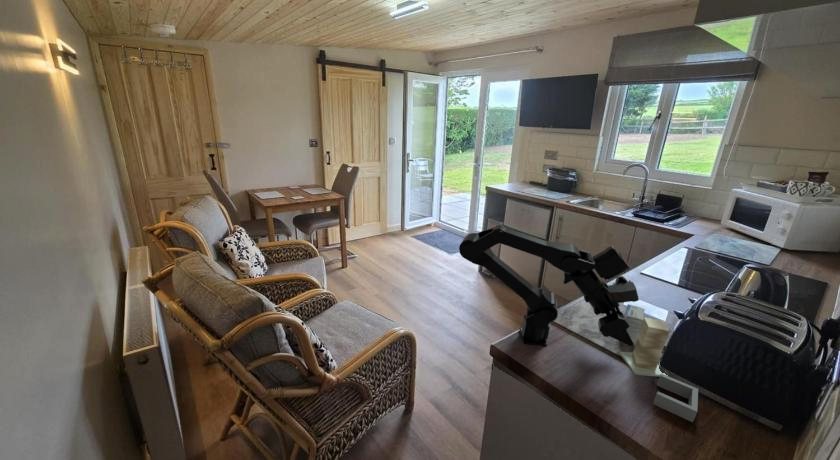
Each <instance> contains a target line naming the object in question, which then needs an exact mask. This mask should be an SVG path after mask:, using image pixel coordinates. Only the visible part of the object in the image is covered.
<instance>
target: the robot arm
mask: <svg viewBox="0 0 840 460" xmlns="http://www.w3.org/2000/svg"><path fill="white" fill-rule="evenodd" d="M499 244H501V245H503V246H507V247H509V248H513V249H515V250H519V251H521V252H523V253H524V252H525V253H527V254H529V255H532V256H535V257H539V258H541V259H543V260H545V261H546V262H548V264H550V265H551V266H553V267H555V268H557V269H558V270H560V271H562V272H563V276H562V281H563V284H564V285H566V284H569V283H570V282H573V284H574V285H575V287H576V288H577V290H578V291H579V292H580V293H581V294H582V296H583V301H585V303H589V304H590V306H591V307H592V310H593V312H594V315H596V316H599V315H600V314H601V315H604V314H605V316H602V317H600V318H598V320H597V321H598V322H597V325H598V330H599V332H600V333H601V334H602V336H603V337H605V338H608V337H609V338H613V339H614V340H617V341H618V342H620V343H623V344H625V345H626V346H629V347H632V346H634V344H633V341H632V339H631V337H630V335H629V333H628V331H627V329H628V328H629V323H628V320H627V319H626V317H625V313H623V311H621V309H620V304H621V303H628V302H629V303H630V302H633V303H635V302H639V300H640V299H639V294H638V290H637V287H636V285H635V283H634V282H633V281H631V280H628V279H627V278H626V277H625V276H623V275H622V276H621V274H623V273H625V272H627V271H629V270H631V266H630V265H629V264H628V262H627V260H626V259H625V258H624V256H623V254H622V253H620V252H619V251H618V249H616V248H615V247H614V245H610V246H608V247H606V248H605V249H604V250H602V251H601V252H599V253H597V254H595V255H593V254H592V252H589V251H585V250H582V249H579V248H578V247H577V246H576V245H575V244H572V243H567V242H560V241H547V240H545V239H544V240H543V239H540V238H538V237H535V236H532V235H529V234H526V233H523V232H519V231H517V230H514V229H512V228H509V227H508V228H507V227H505V226H504V225H501V224H498V225H496V226H493V227H491V228H488V229H485V230H481V231H479V232H473V233H472V232H471V233H468V234H467V235H465V237H464V238H463V240H462V241H461V243H460V244H459V247H458V249H459V254H460V256H461V257H462V258H463V259H465V260H466V261H468V262H470V263H472V264H474V265H477V266H481V267H483V268H485V269H486V270H487V271H488V272H489V273H490V274H492V275H493V276H494V277H496V278H497V279H498V280H499V281H501V282H502V284H504V285H505V286H506V287H507V288H508V289H510V290H511V291H512V292H514V293H515V294H516V295H517V296H519V297H520V298H521V299H522V300H523V301H524V302H525V304H526V311H525V312H526V313H525V314H524V315H523V317H522V324H521V328H519V330H520V331H519V330H518V331H519V334H520V337H521V339H522V341H523V344H525V345H537V346H538V345H539V346H547V345H548V342H547V340H548V338H549V333H550V329H551V327H550V325H549V324H550V323H552V322H554V321H555V320H557V318H558V316H559V315H558V313H559V311H558V310H559V309H558V300H557V298H556V296H555V292H552V291H550V290H549V289H548V288H547V286H546V285H544V284H542V285H541V286H540V287H537V286H534V285H533V284H531V283H530V282H529V281H527V279H525V278H524V277H523V276H521V275H520V274H519V273H518V272H517V271H515V269H513V268H512V267H511V266H509V265H508V264H507V263H505V261H503V260H502V259H501V258H500V257H498V256H497V255H496V254H495V253H494V252H493V250H492V249H491V248H493V247H494V246H496V245H499ZM596 273H597V274H596ZM616 276H617V277H616ZM614 277H616V278H615V282H612V284H610V285H608V283H607V282H606V280H611V279H613V278H614ZM600 278H601V279H604V280H605V281H603V280H601V279H600ZM521 329H522V330H521Z"/></svg>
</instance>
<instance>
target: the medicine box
mask: <svg viewBox="0 0 840 460" xmlns="http://www.w3.org/2000/svg"><path fill="white" fill-rule="evenodd" d="M624 315H625V317H626V319H627V320H628V323H629V328H628V329H627V331H628V333H629V335H630V337H631V339H632V341H633V344H634V345H633V346H634V347H635V344H636V341H637V338H638V335H639V332H640V329H641V325H642V322H643V319H644V317H645V308H644V307H640V306H637V305H633V304H629V303H628V304H627V305H626V309H625V312H624Z"/></svg>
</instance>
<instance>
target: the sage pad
mask: <svg viewBox="0 0 840 460" xmlns="http://www.w3.org/2000/svg"><path fill="white" fill-rule="evenodd" d="M632 354H633V351H632V352H630V351H629V352H628V351H619V355H620V356H621V357H622V359H623V360H624V361H625V363H626V365H627V366H628V367H629V369H631V371H632V373H634V375H635V376H644V377H645V376H647V377H660V374H664V375H666V374H665V373H662V372H661V371H660V369H659V365H660V364H659V365H657V368H656V371H653V370H649V369H645V368H641V367H637V366H635V363H634V360H633V357H632ZM668 375H669V374H668ZM668 375H666V376H668Z"/></svg>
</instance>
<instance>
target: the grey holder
mask: <svg viewBox="0 0 840 460" xmlns="http://www.w3.org/2000/svg"><path fill="white" fill-rule="evenodd" d="M656 386H658V387H659V388H661V389H664V390H665V391H668V392H671V393H674V394H676V395H678V396H680V397H682V398H685V399H688V403H686V402H683V401H680V400H678V399H676V398H674V397H672V396H669V395H667V394H665V393H662V392H660V391H658V390H657V392H656V394H655V397H654V400H653V405H654V406H657V407H659V408H660V409H663V410H664V411H668V412H670V413H672V414H673V415H676V416H678V417H680V418H683V419H684V420H686V421H689V422H690V423H694V420H695V419H696V416H697V414H698V404H699V388H697V387H694V386H692V385H690V384H688V383H685V382H682V381H680V380H678V379H676V378H673V377H671V376H666V375H664V374H660V377H659V378H658V381H657V384H656Z"/></svg>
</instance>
